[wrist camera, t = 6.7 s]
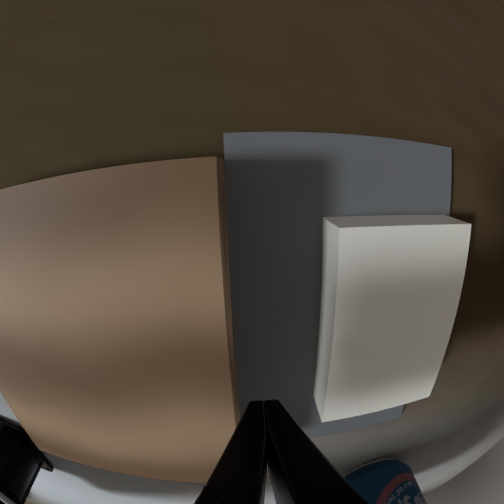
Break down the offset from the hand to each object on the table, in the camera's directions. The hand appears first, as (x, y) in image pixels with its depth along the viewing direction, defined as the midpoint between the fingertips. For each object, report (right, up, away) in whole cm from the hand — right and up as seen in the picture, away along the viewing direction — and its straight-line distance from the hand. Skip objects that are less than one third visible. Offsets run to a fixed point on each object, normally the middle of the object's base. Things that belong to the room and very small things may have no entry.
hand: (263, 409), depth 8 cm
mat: (+4, +2, +5) cm, 6 cm away
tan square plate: (-7, +1, +5) cm, 9 cm away
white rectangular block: (+6, +1, +3) cm, 6 cm away
